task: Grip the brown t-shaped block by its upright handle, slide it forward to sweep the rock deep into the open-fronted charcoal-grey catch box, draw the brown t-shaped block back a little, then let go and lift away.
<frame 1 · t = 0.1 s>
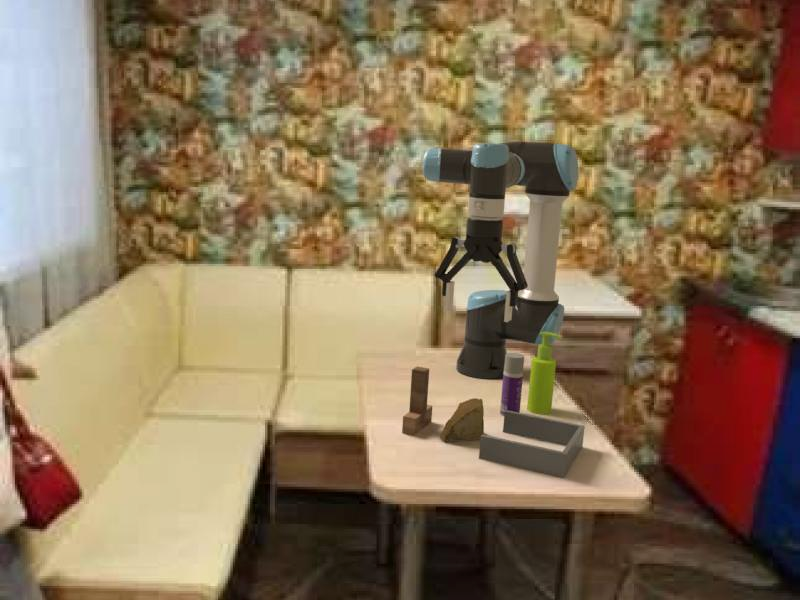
hand: (477, 316, 171), 28 cm above the table, tool pointing down, fingers open, 13 cm apart
brown t-shaped block: (417, 427, 181), on the table
catch box: (532, 452, 170), on the table
soap dispenser: (540, 411, 196), on the table
container: (509, 415, 192), on the table
rock: (462, 438, 177), on the table
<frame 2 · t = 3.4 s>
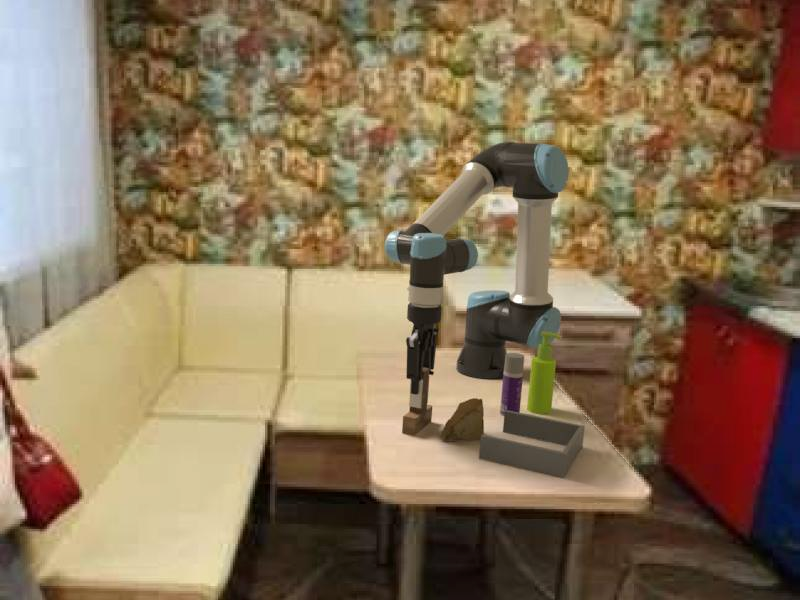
hand: (418, 404, 180), 6 cm above the table, tool pointing down, fingers closed on brown t-shaped block, 3 cm apart
brown t-shaped block: (417, 427, 181), on the table, touching gripper
everything else where it was.
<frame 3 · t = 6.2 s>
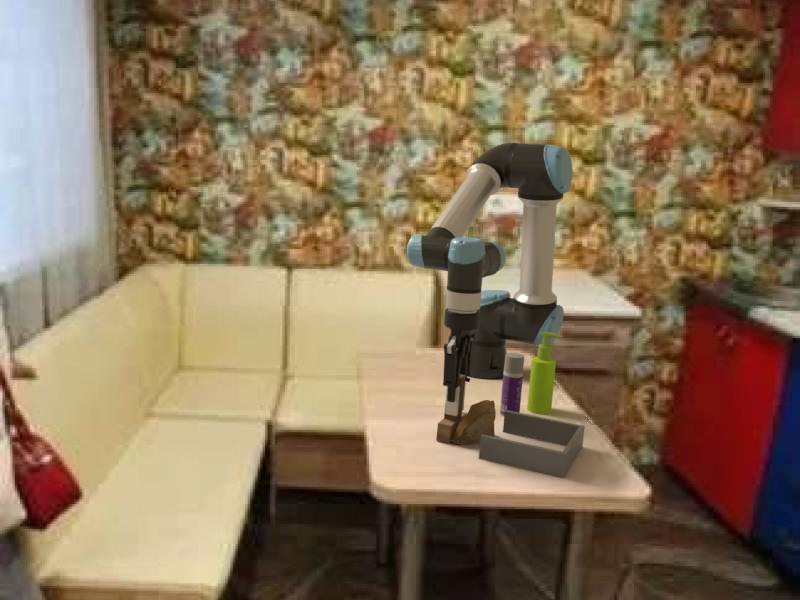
hand: (454, 411, 176), 6 cm above the table, tool pointing down, fingers closed on brown t-shaped block, 3 cm apart
brown t-shaped block: (450, 434, 177), on the table, touching rock, gripper
rock: (473, 440, 175), on the table, touching brown t-shaped block
everything else where it was.
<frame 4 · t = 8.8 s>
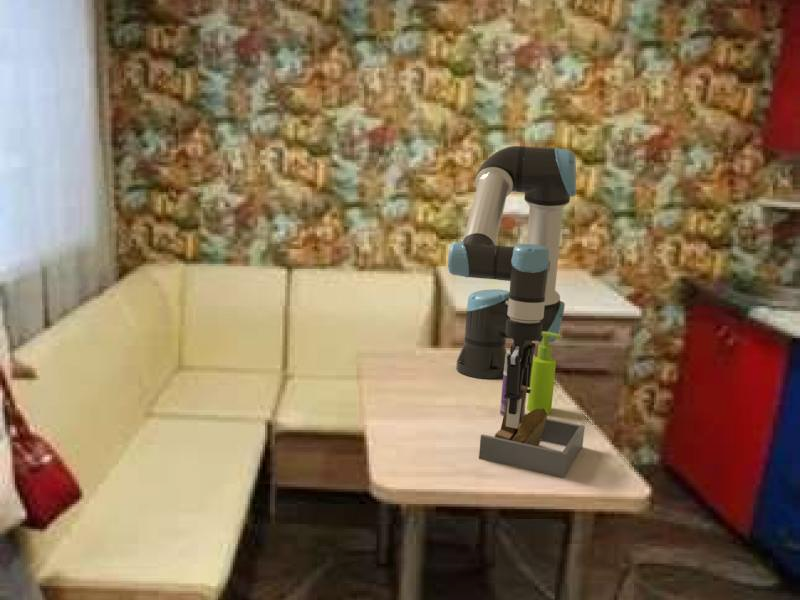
hand: (514, 424, 171), 6 cm above the table, tool pointing down, fingers closed on brown t-shaped block, 3 cm apart
brown t-shaped block: (505, 445, 172), on the table, tilted 7°, touching gripper
rock: (520, 450, 171), on the table
everything else where it was.
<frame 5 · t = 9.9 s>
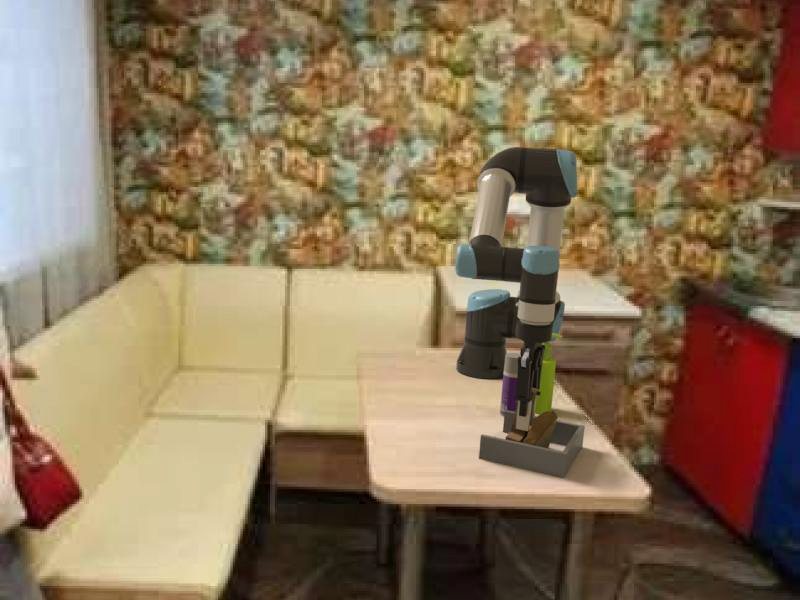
hand: (524, 426, 170), 6 cm above the table, tool pointing down, fingers closed on brown t-shaped block, 3 cm apart
brown t-shaped block: (515, 448, 172), on the table, tilted 7°, touching gripper
rock: (530, 453, 170), on the table, touching gripper
everything else where it was.
when the fingers open (6 cm above the table, at t = 12.6 s): brown t-shaped block stays where it is, on the table.
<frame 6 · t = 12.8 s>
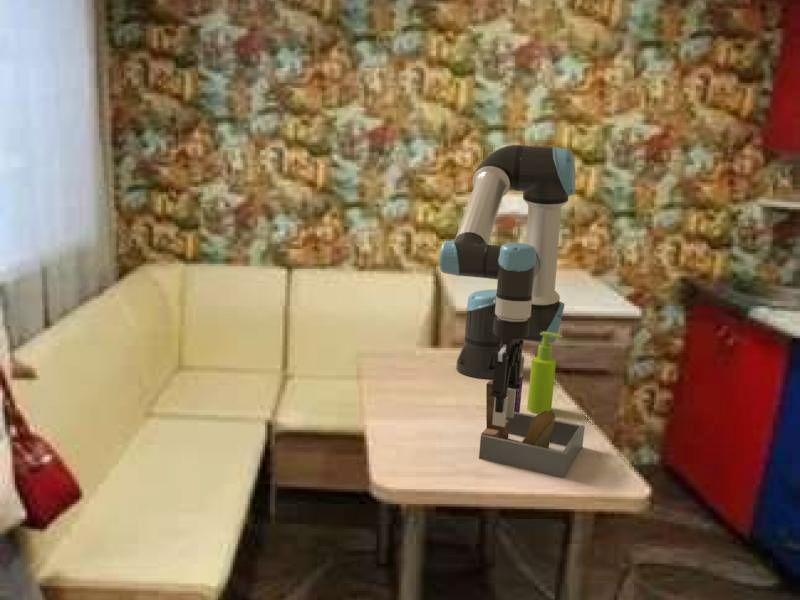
hand: (503, 420, 172), 6 cm above the table, tool pointing down, fingers open, 5 cm apart
brown t-shaped block: (495, 444, 173), on the table
rock: (530, 454, 170), on the table
everything else where it was.
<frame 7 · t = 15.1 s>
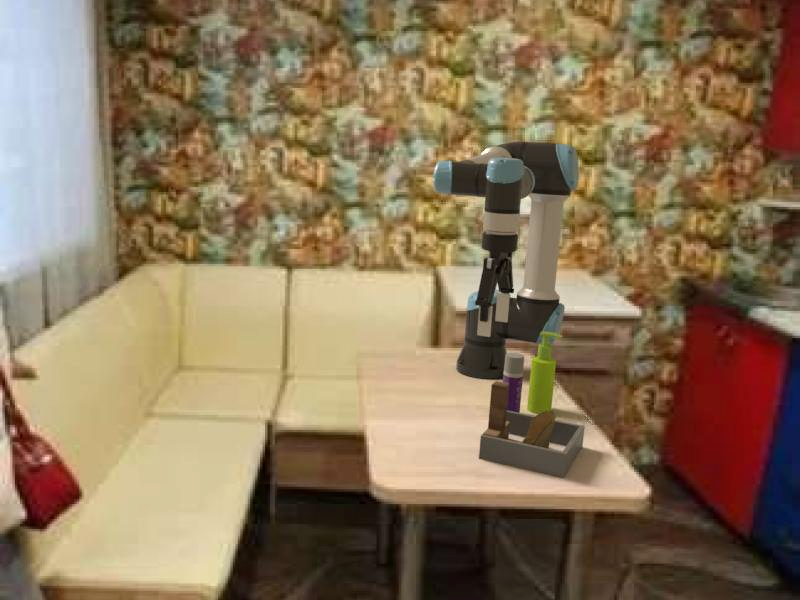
hand: (492, 328, 173), 25 cm above the table, tool pointing down, fingers open, 13 cm apart
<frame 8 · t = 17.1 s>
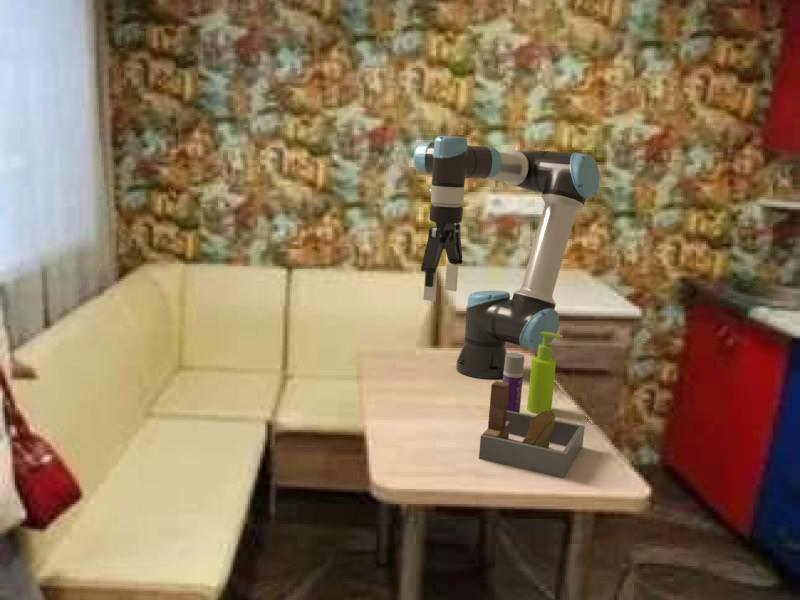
hand: (440, 295, 186), 29 cm above the table, tool pointing down, fingers open, 13 cm apart
nothing on the table moved.
at the end: rock inside the target area (1.8 cm from its centre), on the table; rock touching table; brown t-shaped block moved 18.7 cm from its start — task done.
